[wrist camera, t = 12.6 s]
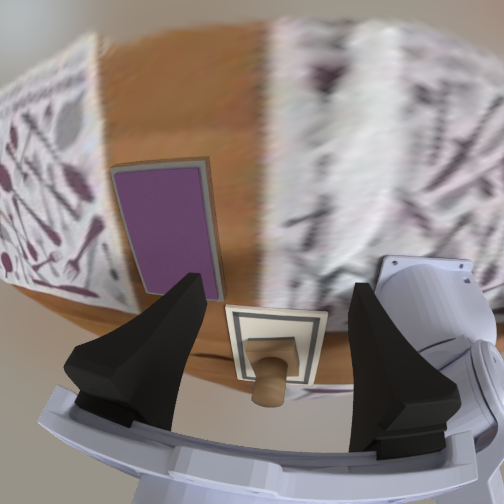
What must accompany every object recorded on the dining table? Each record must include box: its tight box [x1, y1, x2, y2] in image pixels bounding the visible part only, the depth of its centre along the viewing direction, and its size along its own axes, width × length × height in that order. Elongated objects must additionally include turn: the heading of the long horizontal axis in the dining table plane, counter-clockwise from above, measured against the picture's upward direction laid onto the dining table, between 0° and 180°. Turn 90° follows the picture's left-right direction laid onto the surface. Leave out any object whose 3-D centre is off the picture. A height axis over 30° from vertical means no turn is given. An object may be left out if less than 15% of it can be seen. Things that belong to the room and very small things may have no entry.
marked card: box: [225, 304, 328, 386], centre depth 31 cm, size 10×14×1 cm
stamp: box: [245, 337, 300, 407], centre depth 28 cm, size 5×5×6 cm
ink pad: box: [110, 157, 227, 302], centre depth 24 cm, size 8×13×1 cm, turn 3°
